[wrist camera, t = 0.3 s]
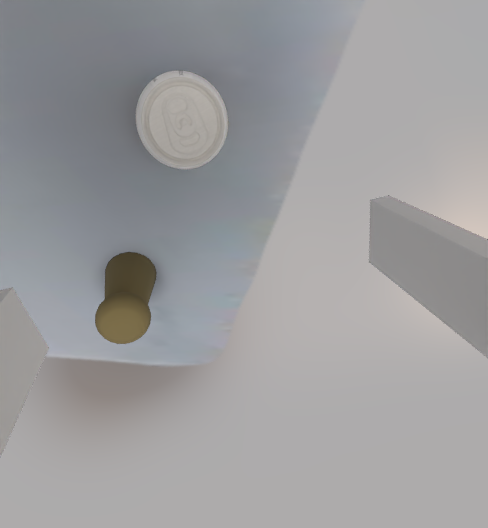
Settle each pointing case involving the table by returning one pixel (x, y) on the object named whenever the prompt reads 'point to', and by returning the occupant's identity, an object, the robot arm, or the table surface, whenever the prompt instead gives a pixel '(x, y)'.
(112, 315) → the olive hourglass shape
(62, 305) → the table surface
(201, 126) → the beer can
